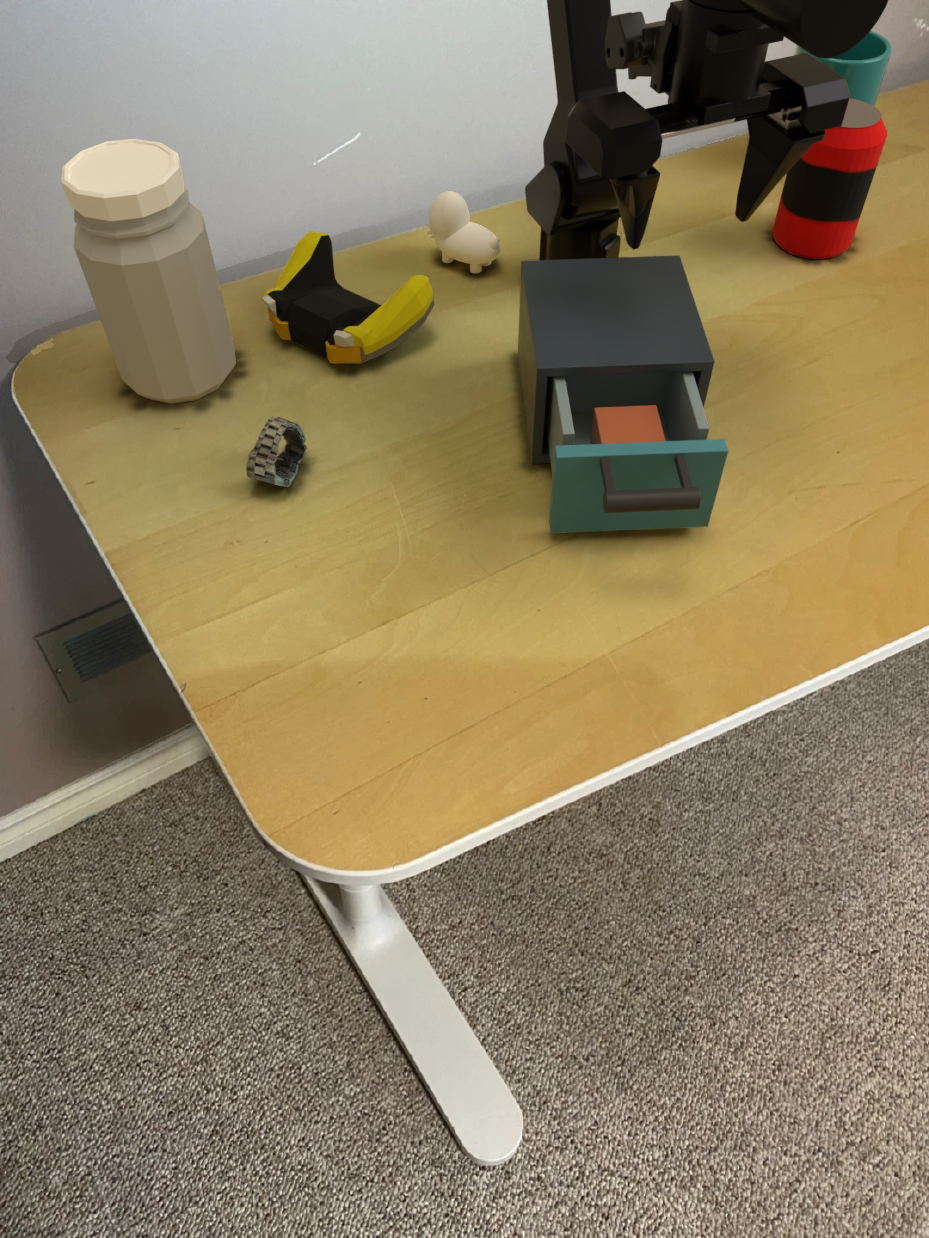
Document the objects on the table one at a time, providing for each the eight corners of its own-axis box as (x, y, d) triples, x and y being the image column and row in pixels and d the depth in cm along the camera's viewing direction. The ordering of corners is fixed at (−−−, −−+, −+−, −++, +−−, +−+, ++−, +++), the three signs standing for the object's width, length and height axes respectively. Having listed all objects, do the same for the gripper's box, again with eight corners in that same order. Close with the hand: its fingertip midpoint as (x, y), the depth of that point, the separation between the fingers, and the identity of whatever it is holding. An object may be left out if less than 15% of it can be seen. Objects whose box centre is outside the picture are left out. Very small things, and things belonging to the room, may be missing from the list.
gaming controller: (320, 275, 91) (245, 326, 86) (312, 220, 87) (232, 270, 82) (445, 331, 85) (372, 389, 80) (443, 276, 81) (366, 333, 76)
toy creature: (444, 237, 95) (442, 175, 90) (512, 262, 92) (514, 199, 87) (416, 259, 92) (413, 196, 88) (486, 285, 90) (486, 222, 85)
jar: (179, 325, 86) (120, 121, 72) (263, 361, 83) (218, 154, 69) (99, 384, 81) (19, 177, 67) (184, 425, 78) (119, 215, 64)
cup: (876, 137, 106) (912, 25, 97) (840, 185, 100) (875, 70, 91) (798, 118, 109) (826, 8, 100) (758, 163, 103) (784, 49, 94)
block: (596, 496, 70) (602, 449, 66) (588, 454, 72) (594, 407, 69) (658, 493, 70) (667, 447, 66) (647, 451, 72) (656, 404, 69)
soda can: (754, 235, 94) (785, 109, 85) (807, 210, 97) (842, 85, 88) (814, 270, 91) (853, 142, 81) (867, 243, 93) (911, 116, 84)
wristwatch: (269, 481, 76) (239, 475, 71) (294, 420, 75) (265, 410, 70) (302, 497, 75) (273, 491, 70) (327, 436, 74) (300, 426, 70)
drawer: (721, 574, 66) (744, 496, 60) (556, 581, 66) (564, 503, 60) (676, 413, 77) (693, 333, 71) (534, 418, 77) (539, 339, 71)
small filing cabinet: (692, 458, 75) (715, 361, 68) (531, 464, 75) (536, 368, 67) (662, 350, 83) (679, 254, 76) (517, 356, 83) (521, 260, 76)
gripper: (784, -70, 65) (735, 158, 78) (536, -27, 61) (526, 207, 73) (888, -13, 59) (818, 225, 71) (620, 39, 55) (594, 284, 67)
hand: (687, 232), depth 71 cm, fingers open, 9 cm apart
